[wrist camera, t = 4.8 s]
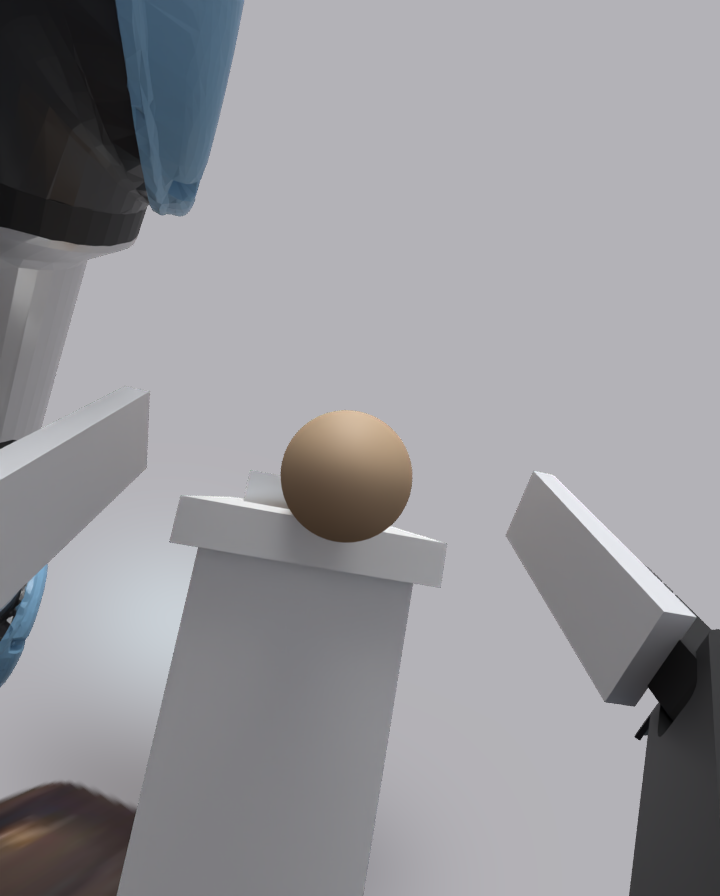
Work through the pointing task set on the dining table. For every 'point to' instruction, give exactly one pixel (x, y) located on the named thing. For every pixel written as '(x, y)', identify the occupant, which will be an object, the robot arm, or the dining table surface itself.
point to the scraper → (339, 477)
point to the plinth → (274, 706)
